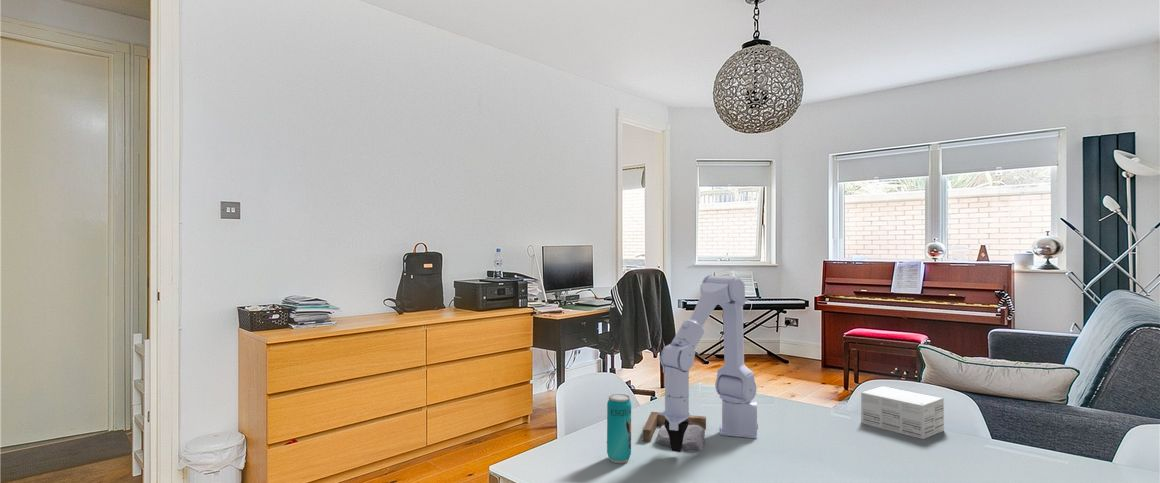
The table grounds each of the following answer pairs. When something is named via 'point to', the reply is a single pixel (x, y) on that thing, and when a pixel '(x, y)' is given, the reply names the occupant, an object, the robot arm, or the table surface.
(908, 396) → the supplement box
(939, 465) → the table surface
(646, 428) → the dock
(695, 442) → the stone block
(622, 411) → the beverage can
